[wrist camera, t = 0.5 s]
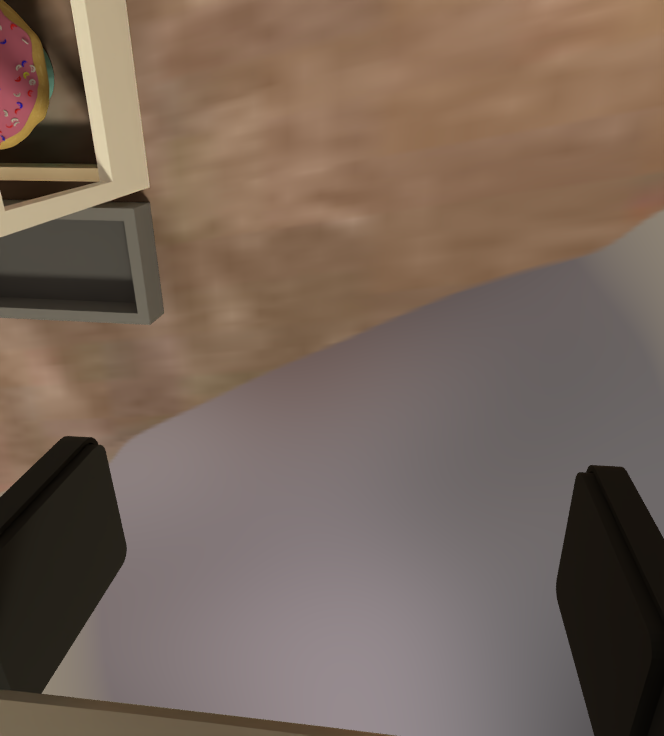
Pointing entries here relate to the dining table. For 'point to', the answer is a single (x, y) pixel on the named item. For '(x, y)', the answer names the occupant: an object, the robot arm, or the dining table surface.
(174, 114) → the dining table surface
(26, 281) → the grey shallow rectangular tray
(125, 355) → the dining table surface
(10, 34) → the cupcake
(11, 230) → the white open frame box
